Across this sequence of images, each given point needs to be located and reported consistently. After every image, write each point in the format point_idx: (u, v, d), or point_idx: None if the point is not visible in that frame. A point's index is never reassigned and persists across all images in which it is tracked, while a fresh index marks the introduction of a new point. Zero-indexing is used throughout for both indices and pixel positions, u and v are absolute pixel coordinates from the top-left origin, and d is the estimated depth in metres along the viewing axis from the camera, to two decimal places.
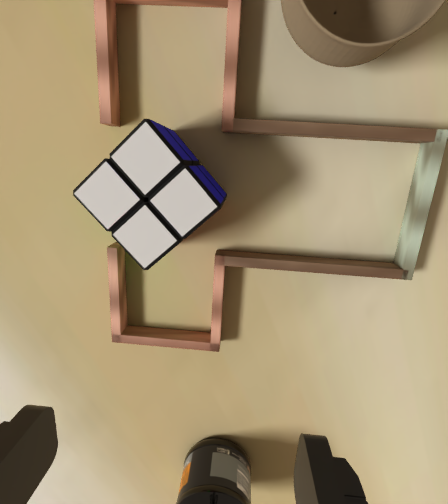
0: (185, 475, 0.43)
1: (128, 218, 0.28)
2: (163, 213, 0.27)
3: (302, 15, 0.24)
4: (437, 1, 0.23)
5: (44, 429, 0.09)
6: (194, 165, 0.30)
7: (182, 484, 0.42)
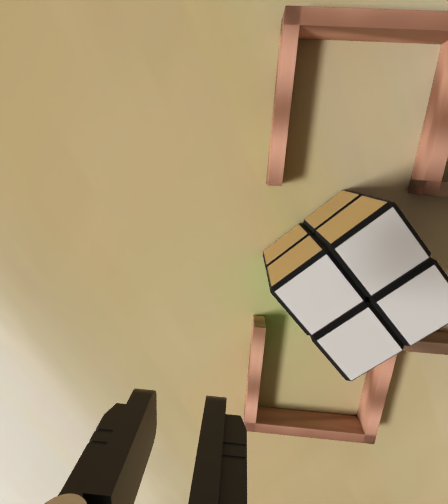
0: None
1: (341, 321, 0.22)
2: (391, 317, 0.21)
3: None
4: None
5: (152, 410, 0.10)
6: None
7: None
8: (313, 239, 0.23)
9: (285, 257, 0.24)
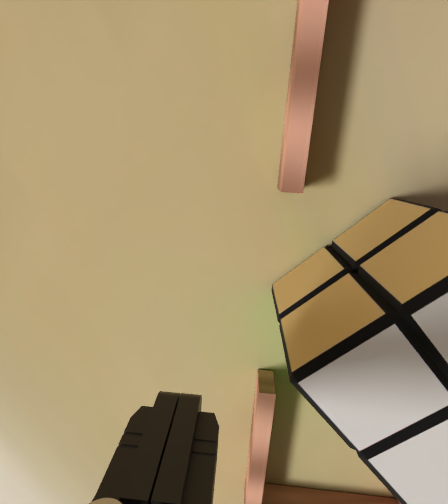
0: None
1: (411, 431, 0.13)
2: None
3: None
4: None
5: None
6: None
7: None
8: (359, 283, 0.14)
9: (310, 309, 0.15)
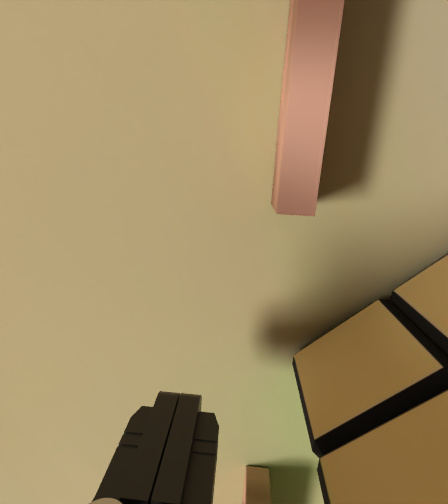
0: None
1: None
2: None
3: None
4: None
5: None
6: None
7: None
8: None
9: (387, 460, 0.08)
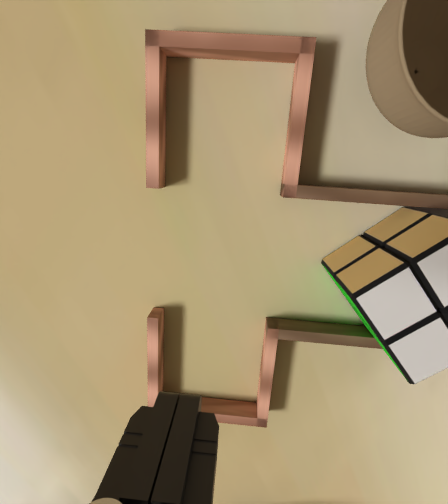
0: None
1: (412, 329, 0.24)
2: None
3: (403, 91, 0.20)
4: None
5: None
6: None
7: None
8: (387, 252, 0.25)
9: (357, 267, 0.26)
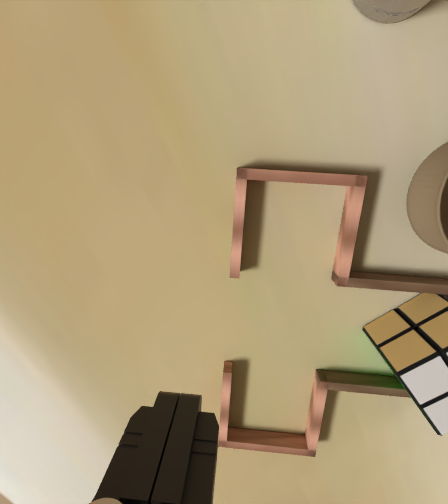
0: None
1: (441, 397, 0.32)
2: None
3: (438, 237, 0.28)
4: None
5: None
6: None
7: None
8: (420, 336, 0.34)
9: (396, 344, 0.35)
